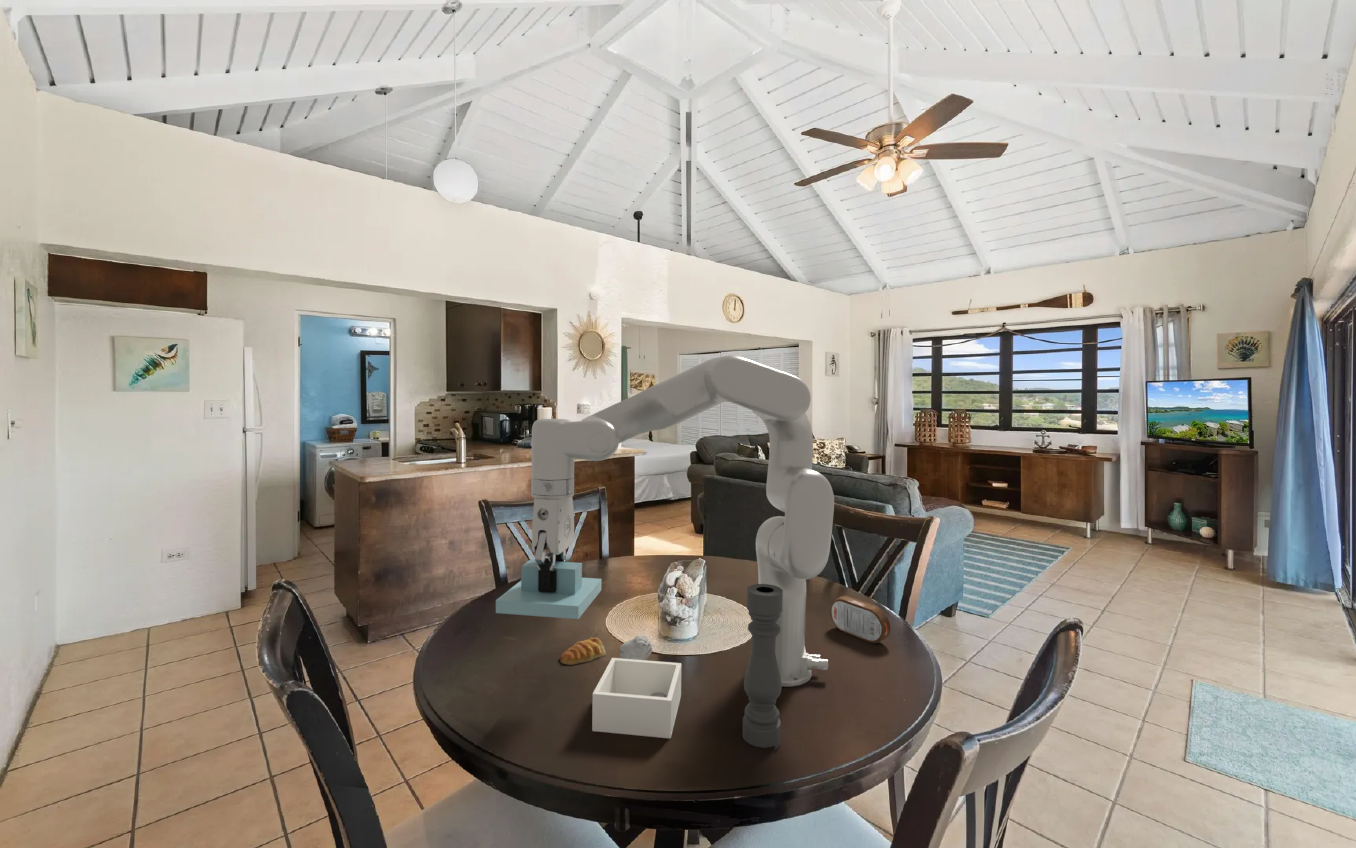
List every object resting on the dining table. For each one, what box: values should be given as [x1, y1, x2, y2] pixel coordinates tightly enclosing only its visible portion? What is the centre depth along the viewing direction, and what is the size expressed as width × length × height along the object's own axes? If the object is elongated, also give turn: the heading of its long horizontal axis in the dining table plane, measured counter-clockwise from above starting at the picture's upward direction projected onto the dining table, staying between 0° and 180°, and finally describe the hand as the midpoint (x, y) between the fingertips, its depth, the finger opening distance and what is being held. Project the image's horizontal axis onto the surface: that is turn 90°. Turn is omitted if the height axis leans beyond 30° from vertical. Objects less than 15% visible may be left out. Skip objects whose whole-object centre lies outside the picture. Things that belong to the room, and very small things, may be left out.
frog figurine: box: [619, 635, 654, 661], centre depth 116 cm, size 6×7×7 cm
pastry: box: [560, 637, 607, 666], centre depth 121 cm, size 9×7×4 cm
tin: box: [829, 595, 891, 644], centre depth 135 cm, size 15×3×8 cm, turn 38°
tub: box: [591, 657, 682, 740], centre depth 100 cm, size 13×13×7 cm
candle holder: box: [741, 583, 783, 751], centre depth 93 cm, size 6×6×25 cm
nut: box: [650, 692, 667, 698], centre depth 101 cm, size 3×3×2 cm
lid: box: [495, 559, 602, 620], centre depth 104 cm, size 15×15×7 cm
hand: (552, 586), depth 104 cm, fingers closed on lid, 4 cm apart
